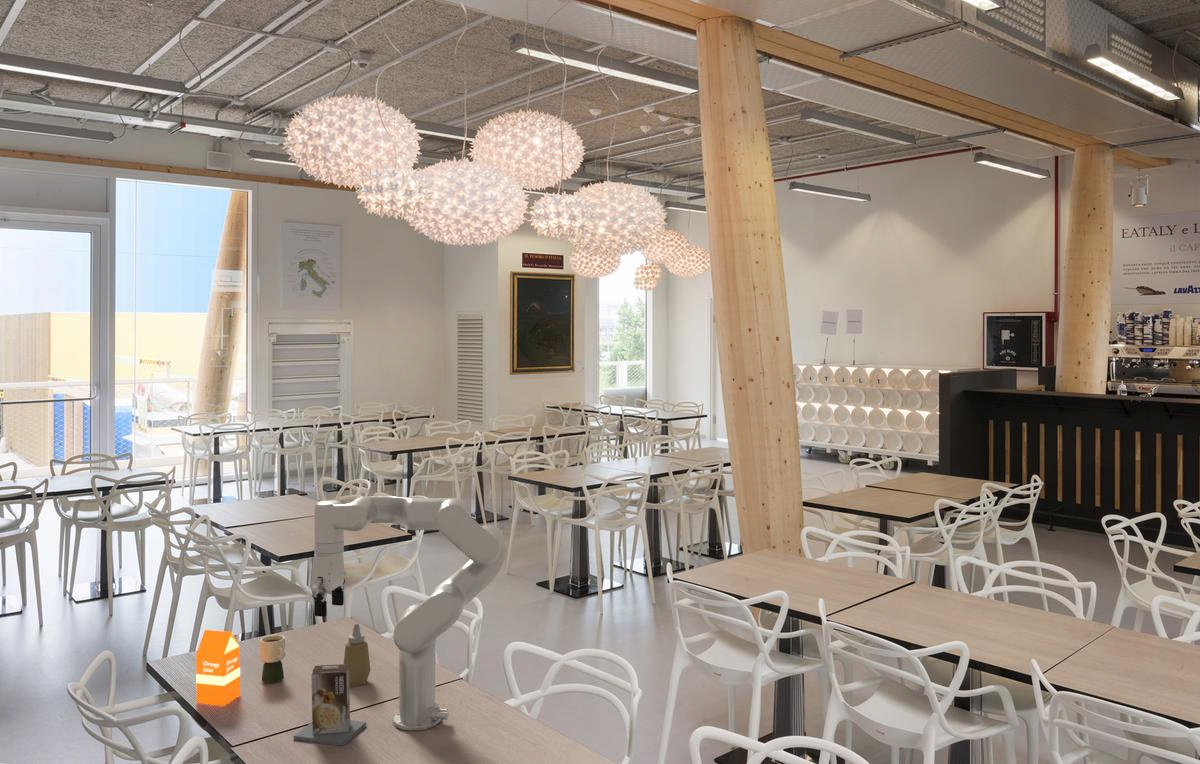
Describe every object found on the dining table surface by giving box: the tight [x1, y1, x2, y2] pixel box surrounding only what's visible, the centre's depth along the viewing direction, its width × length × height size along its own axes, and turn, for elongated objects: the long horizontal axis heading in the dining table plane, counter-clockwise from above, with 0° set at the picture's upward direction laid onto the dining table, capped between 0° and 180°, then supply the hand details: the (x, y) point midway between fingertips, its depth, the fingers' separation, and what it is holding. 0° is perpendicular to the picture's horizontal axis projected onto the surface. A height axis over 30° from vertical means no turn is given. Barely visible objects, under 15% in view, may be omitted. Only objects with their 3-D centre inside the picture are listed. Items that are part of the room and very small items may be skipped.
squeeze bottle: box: [343, 622, 371, 687], centre depth 262 cm, size 8×8×18 cm
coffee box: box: [310, 663, 351, 734], centre depth 229 cm, size 9×6×16 cm
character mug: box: [259, 634, 286, 683], centre depth 263 cm, size 11×7×13 cm, turn 52°
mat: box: [293, 719, 367, 747], centre depth 229 cm, size 14×12×1 cm
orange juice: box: [195, 629, 241, 707], centre depth 248 cm, size 8×9×20 cm
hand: (329, 610), depth 234 cm, fingers open, 9 cm apart
